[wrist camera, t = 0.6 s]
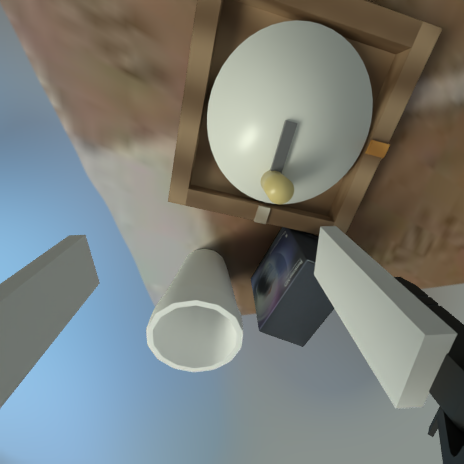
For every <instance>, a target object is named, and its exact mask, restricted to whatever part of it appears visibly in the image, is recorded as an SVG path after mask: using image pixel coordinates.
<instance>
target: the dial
mask: <svg viewBox="0 0 464 464" xmlns="http://www.w3.org/2000/svg"><path fill="white" fill-rule="evenodd" d="M372 107H373V98H372V89H371V84H370V79H369V75H368V73H367V70H366V67H365V65H364V63H363V61H362V59H361V57H360V56H359V54H358V52H357V51H356V50H355V49H354V47H353V46H352V45H351V44H350V43H349V42H348V41H347V40H346V39H345V38H344V37H343V36H342V35H340V34H339V33H337V32H336V31H334V30H333V29H331V28H328V27H326V26H324V25H322V24H318V23H314V22H310V21H298V20H296V21H286V22H281V23H277V24H273V25H271V26H268V27H266V28H264V29H261V30H259V31H258V32H256V33H255V34H253V35H251V36H250V37H248V38H247V39H246V40H245V41H244V42H242V43H241V44H240V45H239V46H238V47H237V48H236V49H235V50H234V51H233V53H232V54H231V55H230V56H229V57H228V59H227V60H226V62H225V63H224V65H223V66H222V68H221V70H220V72H219V74H218V76H217V77H216V80H215V83H214V85H213V88H212V91H211V95H210V99H209V103H208V112H207V130H208V139H209V143H210V147H211V150H212V153H213V156H214V158H215V161H216V162H217V164H218V166H219V168H220V170H221V171H222V173H223V174H224V175H225V177H226V178H227V179H228V180H229V181H230V182H231V183H232V184H233V185H234V186H235V187H236V188H237V189H239V190H240V191H241V192H243V193H244V194H246V195H248V196H250V197H252V198H254V199H256V200H259V201H263V202H267V203H273V204H291V203H297V202H302V201H305V200H308V199H311V198H313V197H315V196H317V195H319V194H321V193H323V192H325V191H326V190H328V189H329V188H331V187H332V186H333V185H334V184H336V183H337V182H338V181H339V180H340V179H341V178H342V177H343V176H344V175H345V174H346V173H347V172H348V170H349V169H350V168H351V167H352V166H353V164H354V162H355V161H356V159H357V158H358V156H359V154H360V152H361V150H362V148H363V146H364V144H365V141H366V139H367V136H368V132H369V128H370V124H371V118H372Z"/></svg>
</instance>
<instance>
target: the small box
mask: <svg viewBox="0 0 464 464" xmlns="http://www.w3.org/2000/svg"><path fill="white" fill-rule="evenodd" d="M318 240H319V236H315V235H313V234H311V233H308V232H303V231H299V230H294V229H290V228H285V227H282V228H281V230H280V231H279V233H278V235H277V236H276V238H275V240H274V241H273V243H272V245H271V246H270V248H269V250H268V251H267V253H266V254H265V256H264V258H263V259H262V261H261V263H260V264H259V266H258V268H257V269H256V271H255V273H254V274H253V276H252V278H251V283H252V289H253V295H254V301H255V307H256V314H257V320H258V327H259V331H260V332H263V333H265V334H268V335H271V336H274V337H277V338H279V339H282V340H285V341H288V342H291V343H294V344H297V345H299V346H302V347H303V346H304V345H305V344H306V343H307V341H308V340H309V339H310V338H311V336H312V335H313V334H314V333H315V332H316V330H317V329H318V328H319V327H320V325H321V324H322V323H323V322H324V320H325V319H326V318H327V316H328V315H329V314H330V313H331V312H332V311H333V309H334V307H333V305H332V303H331V302H330V300H329V298H328V297H327V295H326V294H325V292H324V290H323V289H322V287H321V285H320V284H319V282H318V280H317V279H316V277H315V276H314V270H315V262H316V255H317V247H318Z"/></svg>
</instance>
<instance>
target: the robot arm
mask: <svg viewBox="0 0 464 464" xmlns="http://www.w3.org/2000/svg"><path fill="white" fill-rule="evenodd" d="M314 276H315V277H316V279H317V280H318V282H319V284H320V285H321V287H322V289H323V290H324V292H325V294H326V295H327V297H328V298H329V300H330V302H331V303H332V305H333V307H334V308H335V310H336V311H337V313H338V315H339V317H340V318H341V319H342V321H343V323H344V325H345V326H346V328H347V330H348V331H349V333H350V335H351V336H352V338H353V339H354V341H355V343H356V344H357V346H358V348H359V349H360V351H361V352H362V354H363V356H364V357H365V359H366V361H367V362H368V364H369V365H370V367H371V369H372V371H373V372H374V374H375V375H376V377H377V379H378V380H379V382H380V384H381V385H382V387H383V389H384V390H385V392H386V393H387V395H388V396H389V398H390V400H391V402H392V403H393V405H394V407H395V408H396V409H398V408H419V407H423V406H424V404H425V402H426V399H427V397H428V395H429V393H430V394H431V395H432V396H433V398H434V399H435V400H436V401H437V403H438V404H439V405H440V407H439V409H438V411H437V413H436V415H435V417H434V419H433V421H432V423H431V425H430V427H429V432H428V434H429V435H430V436H432V437H433V436H434V434H435V433H436V431H437V429H438V430H439V437H440V444H441V452H442V459H443V464H464V325H463V324H462V323H461V322H460V321H459V320H457V319H456V318H455V317H454V316H452V315H451V314H450V313H449V312H448V311H446V310H445V309H444V308H443V307H441V306H438V303H437V302H435V301H434V300H433V299H432V298H431V297H428V295H427V294H426V293H425V292H423V291H422V290H421V289H420V288H419V287H417V286H416V285H414V284H413V283H411V282H409V281H407V280H405V279H403V278H401V277H393V276H392V275H391V274H390V273H388V272H387V271H386V270H385V269H384V268H383V267H382V266H381V265H379V264H378V263H377V262H376V261H375V260H374V259H373V258H371V257H370V256H369V255H368V254H367V253H366V252H365V251H364V250H362V249H361V248H360V247H359V246H358V245H357V244H356V243H355V242H353V241H352V240H351V239H350V238H349V237H348V236H347V235H345V234H344V233H343V232H342V231H341V230H340V229H339V228H338V227H336V226H322V227H320V232H319V240H318V247H317V255H316V262H315V270H314ZM98 284H99V279H98V276H97V273H96V269H95V266H94V262H93V259H92V256H91V252H90V249H89V246H88V242H87V239H86V235H71V236H68V237H67V238H65V239H63V240H62V241H61V242H59V243H58V244H57V245H55V246H54V247H52V248H51V249H49V250H48V251H47V252H45V253H44V254H43V255H41V256H39V257H38V258H36V259H35V260H34V261H32V262H31V263H30V264H28V265H27V266H25V267H24V268H22V269H21V270H19V271H18V272H17V273H15V274H14V275H12V276H11V277H10V278H8V279H7V280H5V281H4V282H2V283H1V284H0V408H1V407H2V405H3V404H4V403H5V402H6V400H7V399H8V398H9V397H10V395H11V394H12V393H13V392H14V390H15V389H16V388H17V387H18V385H19V384H20V383H21V382H22V380H23V379H24V378H25V377H26V375H27V374H28V373H29V371H30V370H31V369H32V368H33V366H34V365H35V364H36V363H37V361H38V360H39V359H40V357H41V356H42V355H43V354H44V353H45V351H46V350H47V349H48V348H49V346H50V345H51V344H52V342H53V341H54V340H55V339H56V337H57V336H58V335H59V334H60V332H61V331H62V330H63V329H64V327H65V326H66V325H67V323H68V322H69V321H70V320H71V318H72V317H73V316H74V315H75V313H76V312H77V311H78V310H79V308H80V307H81V306H82V305H83V303H84V302H85V301H86V300H87V298H88V297H89V296H90V295H91V293H92V292H93V291H94V289H95V288H96V287H97V286H98Z"/></svg>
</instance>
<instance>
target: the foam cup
mask: <svg viewBox="0 0 464 464" xmlns="http://www.w3.org/2000/svg"><path fill="white" fill-rule="evenodd" d="M146 330H147V345H148V346H149V348H150V349H151V351H152V352H153V353H154V355H155V356H156V357H157V359H158V360H160V361H162V362H164V363H166V364H167V365H169V366H171V367H172V368H174V369H179V370H185V371H190V372H199V371H207V370H214V369H216V368H218V367H220V366H222V365H224V364H226V363H228V362H230V361H231V360H232V359H233V358H234V356H235V355H236V354H237V353H238V352H239V350H240V349H241V345H242V338H243V325H242V315H241V313H240V311H239V309H238V307H237V304H236V300H235V296H234V293H233V289H232V285H231V281H230V278H229V274H228V270H227V267H226V264H225V262H224V259H223V257H222V256H221V255H219V254H218V253H217V252H215V251H213V250H209V249H200V250H195V251H193V252H192V253H190V254H189V255H188V256H187V257H186V259H185V261H184V262H183V264H182V266H181V267H180V269H179V271H178V273H177V274H176V276H175V278H174V280H173V281H172V283H171V285H170V287H169V288H168V290H167V292H166V294H165V295H164V296H163V297H161V299H160V300H159V302H158V304H157V306H156V307H155V309H154V311H153V313H152V315H151V318H150V321H149V323H148V326H147V329H146Z"/></svg>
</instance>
